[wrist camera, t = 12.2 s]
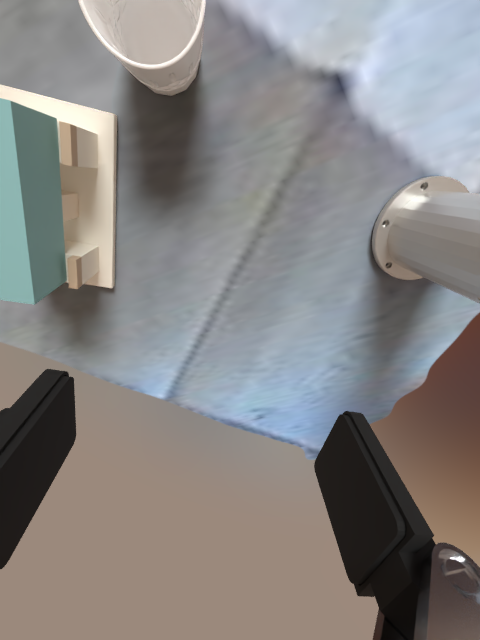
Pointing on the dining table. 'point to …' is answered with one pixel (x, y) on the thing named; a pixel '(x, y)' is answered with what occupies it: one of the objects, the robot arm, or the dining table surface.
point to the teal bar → (30, 205)
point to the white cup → (151, 38)
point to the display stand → (83, 185)
